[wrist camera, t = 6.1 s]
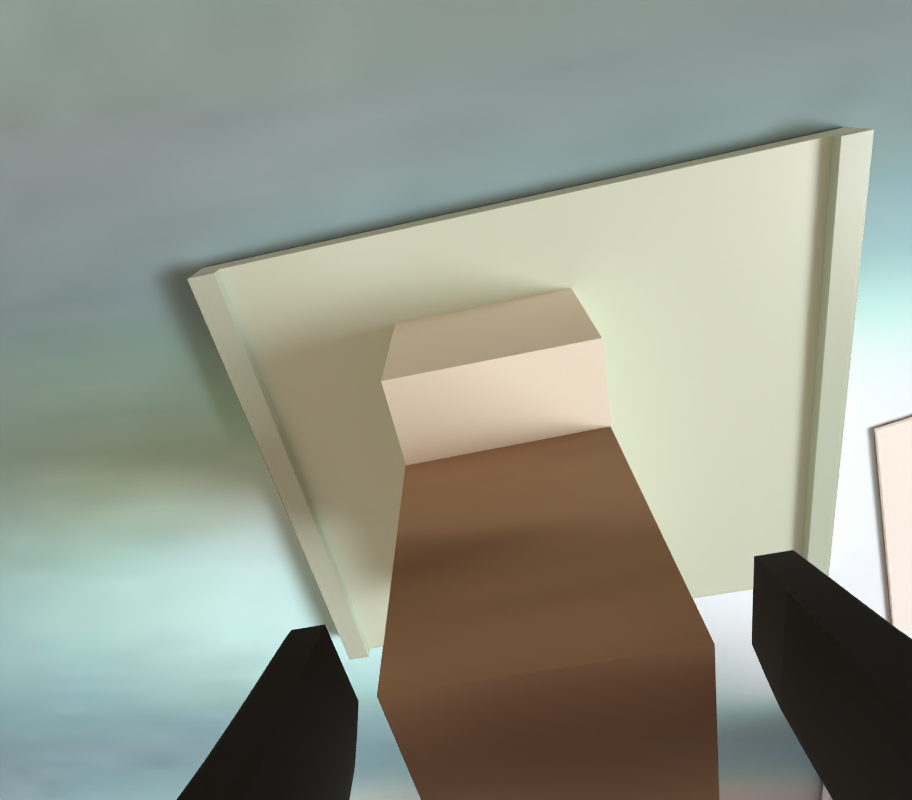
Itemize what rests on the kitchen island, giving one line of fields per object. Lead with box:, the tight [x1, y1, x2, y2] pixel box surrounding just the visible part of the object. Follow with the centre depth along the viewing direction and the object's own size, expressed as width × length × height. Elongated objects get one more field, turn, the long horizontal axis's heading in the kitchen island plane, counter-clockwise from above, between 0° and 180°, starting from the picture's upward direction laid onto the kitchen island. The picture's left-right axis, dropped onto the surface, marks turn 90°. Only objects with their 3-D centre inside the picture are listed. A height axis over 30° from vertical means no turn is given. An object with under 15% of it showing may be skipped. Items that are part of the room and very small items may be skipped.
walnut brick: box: [377, 426, 719, 800], centre depth 10 cm, size 4×4×5 cm
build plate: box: [187, 127, 874, 660], centre depth 15 cm, size 12×14×1 cm
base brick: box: [381, 288, 611, 465], centre depth 14 cm, size 8×4×3 cm, turn 12°
